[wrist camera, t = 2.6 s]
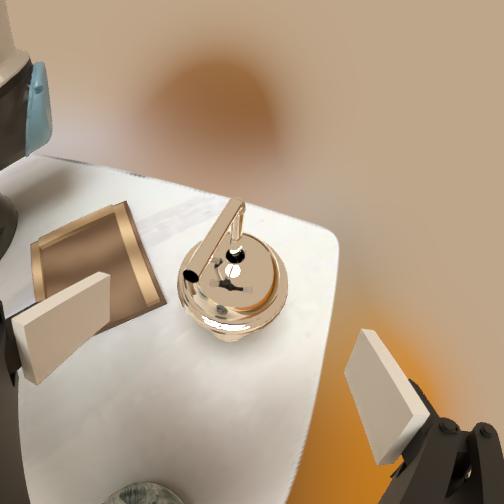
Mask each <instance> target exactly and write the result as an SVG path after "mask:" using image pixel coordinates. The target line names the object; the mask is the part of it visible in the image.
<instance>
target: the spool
mask: <svg viewBox="0 0 504 504" xmlns="http://www.w3.org/2000/svg"><path fill="white" fill-rule="evenodd" d="M103 504H185V503H184V502H183V501H182V500H181V499H180V498H179V497H178V496H177V495H176V494H175V493H173V492H172V491H171V490H169V489H168V488H166V487H164V486H161V485H158V484H155V483H150V482H139V483H133V484H131V485H129V486H127V487H125V488H123V489H121V490H119V491H118V492H116V493H114V494H113V495H111V496H110V497H109V498H108V499H107V500H106V501H105V502H104V503H103Z"/></svg>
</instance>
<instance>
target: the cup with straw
mask: <svg viewBox="0 0 504 504" xmlns="http://www.w3.org/2000/svg"><path fill="white" fill-rule="evenodd" d="M244 215H245V202H244V201H243V199H242V198H240V197H234V198H232V199H230V200H229V202H228V203H227V205H226V206H225V208H224V209H223V211H222V212H221V214H220V215H219V217H218V218H217V220H216V221H215V223H214V224H213V226H212V227H211V229H210V230H209V232H208V233H207V235H206V236H205V238H204V239H203V240H202V241H200V242H199V243H198V244H196V245H195V246H194V247H193V248H192V249H191V250H190V251H189V252H188V253H187V255H186V256H185V258H184V260H183V261H182V263H181V266H180V270H179V274H178V282H177V288H178V295H179V298H180V301H181V303H182V306H183V308H184V309H185V311H186V312H187V314H188V315H189V316H190V317H191V318H192V319H193V320H194V321H195V322H196V323H197V324H199V325H200V326H202V327H204V328H205V329H207V330H209V331H211V332H212V334H213V335H214V336H215V337H216V338H218V339H219V340H222V341H225V342H235V341H238V340H240V339H242V338H243V337H244V336H245V335H246V334H250V333H253V332H256V331H258V330H260V329H263V328H264V327H266V326H267V325H268V324H270V323H271V322H272V321H273V320H274V319H275V318H276V317H277V316H278V315H279V313H280V312H281V310H282V308H283V307H284V305H285V301H286V298H287V294H288V277H287V271H286V268H285V266H284V263H283V261H282V260H281V258H280V257H279V255H278V254H277V253H276V252H275V251H274V249H273V248H272V247H270V246H269V245H268V244H266V243H265V242H263V241H262V240H261V239H259V238H258V237H256V236H254V235H252V234H250V233H247V232H242V231H243V223H244ZM230 226H231V230H230V231H228V230H229V228H230Z"/></svg>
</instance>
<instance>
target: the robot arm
mask: <svg viewBox="0 0 504 504" xmlns="http://www.w3.org/2000/svg"><path fill="white" fill-rule="evenodd" d="M51 135H52V117H51V106H50V97H49V88H48V81H47V73H46V69H45V64H44V62H35V63H34V65H32V63H31V59H30V56H29V53H28V52H26V51H22V50H19V49H16V48H15V46H14V42H13V38H12V33H11V28H10V23H9V18H8V12H7V6H6V0H0V171H1V170H3V169H4V168H6V167H8V166H9V165H11V164H12V163H14V162H16V161H17V160H19V159H21V158H23V157H24V156H26V157H28V156H29V154H30V153H32V152H33V151H35V150H37V149H39V148H40V147H42V146H44V145H45V144H46V143H47V142H48V141H49V139H50V138H51ZM16 225H17V212H16V209H15V208H14V206H13V205H12V203H11V202H10V200H9V199H8V198H7V197H5V196H3V195H2V194H1V193H0V259H1V257H2V256H3V254H4V253H5V251H6V250H7V248H8V246H9V244H10V242H11V240H12V238H13V235H14V233H15V229H16ZM109 321H110V275H109V274H106V273H102V272H97V273H95V274H93V275H91V276H89V277H87V278H85V279H83V280H81V281H79V282H77V283H75V284H74V285H72V286H70V287H68V288H66V289H64V290H62V291H60V292H58V293H57V294H55V295H53V296H51V297H49V298H47V299H46V300H43V301H39V302H36V303H34V304H32V305H30V306H29V307H27V308H25V309H23V310H21V311H20V312H18V313H16V314H14V315H12V316H11V317H9V318H7V319H6V320H5V317H4V311H3V305H2V302H1V300H0V504H30V500H29V495H28V491H27V486H26V481H25V475H24V469H23V463H22V455H21V446H20V435H19V419H18V379H19V377H18V373H17V370H18V369H19V368H20V367H22V369H23V373H24V376H25V378H26V379H28V380H29V381H31V382H32V383H34V384H36V385H37V386H38V385H39V384H40V383H41V382H42V381H43V380H44V379H45V378H46V377H47V376H48V375H49V374H51V373H52V372H53V371H54V370H55V369H56V368H57V367H58V366H59V365H60V364H62V363H63V362H64V361H65V360H66V359H67V358H68V357H69V356H70V355H71V354H73V353H74V352H75V351H76V350H77V349H78V348H79V347H80V346H82V345H83V344H84V343H85V342H86V341H87V340H88V339H90V338H91V337H92V336H93V335H94V334H95V333H96V332H98V331H99V330H100V329H101V328H102V327H103V326H104V325H106V324H107V323H108V322H109ZM344 375H345V377H346V380H347V382H348V385H349V388H350V390H351V393H352V395H353V398H354V401H355V404H356V407H357V409H358V412H359V415H360V418H361V421H362V423H363V426H364V429H365V432H366V435H367V438H368V441H369V444H370V447H371V449H372V452H373V455H374V458H375V461H376V464H377V465H386V464H393V463H394V462H395V461H396V460H397V459H398V457H399V456H400V455H401V454H402V457H403V459H404V462H403V463H402V464H401V465H400V466H399V467H398V468H397V470H396V471H395V472H394V473H393V474H392V475H391V476H390V477H391V478H392V477H393V476H394V477H393V479H392V481H391V483H390V485H389V486H388V488H387V490H386V491H385V493H384V495H383V496H382V498H381V500H380V501H379V503H378V504H504V458H503V454H502V449H501V445H500V441H499V438H498V434H497V432H496V430H495V429H494V428H493V426H492V425H490V424H487V423H484V422H480V423H477V424H476V426H475V427H474V428H473V430H472V431H471V432H468V431H460V428H459V426H458V425H457V424H456V423H455V422H454V421H452V420H450V419H448V418H440V417H439V416H438V414H437V413H436V411H435V410H434V408H433V407H432V405H431V404H430V402H429V401H428V400H427V398H426V396H425V395H424V394H423V392H422V390H421V389H420V387H419V386H418V385H417V384H415V382H413V381H412V380H411V379H407V378H406V376H405V375H404V373H403V372H402V370H401V369H400V367H399V366H398V364H397V363H396V361H395V360H394V358H393V357H392V356H391V354H390V353H389V351H388V350H387V348H386V347H385V346H384V344H383V343H382V341H381V340H380V338H379V337H378V336H377V334H376V333H375V332H374V330H367V329H361V331H360V333H359V336H358V338H357V341H356V344H355V346H354V349H353V351H352V354H351V356H350V359H349V361H348V364H347V366H346V368H345V370H344ZM470 470H471V474H470V477H468V473H469V472H470Z"/></svg>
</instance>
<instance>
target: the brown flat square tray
mask: <svg viewBox="0 0 504 504" xmlns="http://www.w3.org/2000/svg"><path fill="white" fill-rule="evenodd" d="M30 246H31V263H32V275H33V284H34V293H35V300H36V302H39V301H43V300H46V299H47V298H49V297H51V296H53V295H55V294H57V293H58V292H60V291H62V290H64V289H66V288H68V287H70V286H72V285H74V284H75V283H77V282H79V281H81V280H83V279H85V278H87V277H89V276H91V275H93V274H95V273H97V272H102V273H106V274H109V275H110V321H109V322H108V323H107V324H106V325H104V326H103V327H102V328H101V329H100V330H99V331H98V332H96V333H95V334H94V335H96V334H99V333H101V332H103V331H105V330H108V329H110V328H112V327H115V326H117V325H119V324H122V323H124V322H126V321H129V320H131V319H133V318H135V317H138V316H140V315H142V314H145V313H147V312H149V311H151V310H154V309H156V308H158V307H160V306H163V305H165V304H167V303H166V301H165V299H164V296H163V294H162V292H161V290H160V287H159V285H158V283H157V280H156V278H155V275H154V273H153V271H152V268H151V266H150V263H149V261H148V258H147V256H146V253H145V251H144V248H143V246H142V243H141V240H140V238H139V235H138V232H137V230H136V227H135V224H134V221H133V219H132V216H131V213H130V210H129V207H128V204H127V201H124V202H121V203H119V204H116V205H114V206H113V205H110V206H107V207H105V208H103V209H100V210H98V211H96V212H93V213H91V214H89V215H87V216H84V217H82V218H80V219H78V220H76V221H73V222H71V223H69V224H67V225H65V226H63V227H61V228H59V229H57V230H55V231H53V232H51V233H49V234H47V235H45V236H43V237H41V238H39V240H38V241H36V242H34V243H33V244H31V245H30ZM94 335H93V336H94Z"/></svg>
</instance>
